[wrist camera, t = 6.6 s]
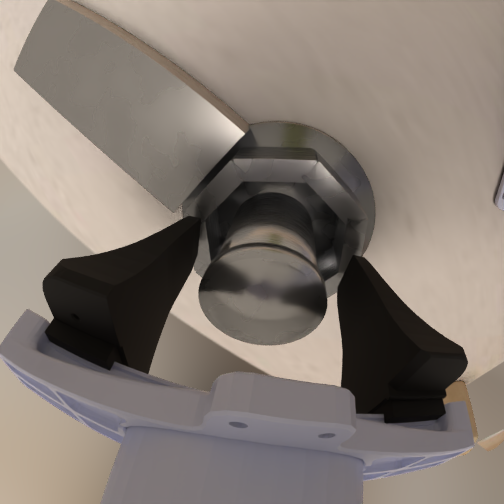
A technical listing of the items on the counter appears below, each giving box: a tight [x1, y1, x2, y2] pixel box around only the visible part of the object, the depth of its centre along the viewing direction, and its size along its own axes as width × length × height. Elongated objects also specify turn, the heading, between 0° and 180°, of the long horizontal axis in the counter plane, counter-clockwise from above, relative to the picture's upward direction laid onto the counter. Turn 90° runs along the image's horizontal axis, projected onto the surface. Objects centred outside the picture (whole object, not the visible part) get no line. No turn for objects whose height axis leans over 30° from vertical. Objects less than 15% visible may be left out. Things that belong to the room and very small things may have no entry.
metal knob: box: [199, 192, 327, 345], centre depth 13 cm, size 5×5×6 cm
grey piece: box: [14, 0, 375, 298], centre depth 12 cm, size 26×11×3 cm, turn 47°
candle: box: [443, 381, 478, 456], centre depth 21 cm, size 6×6×10 cm
